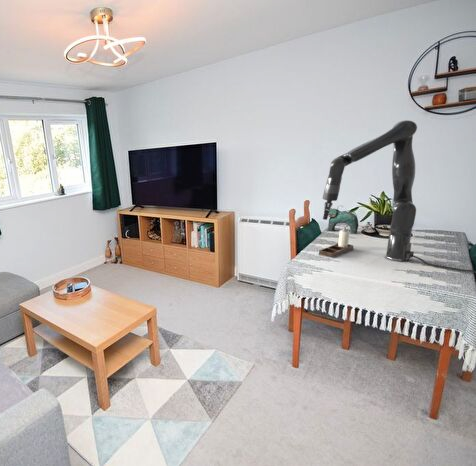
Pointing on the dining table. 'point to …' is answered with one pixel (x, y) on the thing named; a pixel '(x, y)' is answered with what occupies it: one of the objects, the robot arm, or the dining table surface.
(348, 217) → the ceramic cat
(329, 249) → the tray
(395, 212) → the robot arm
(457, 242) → the dining table surface
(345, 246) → the dispenser
